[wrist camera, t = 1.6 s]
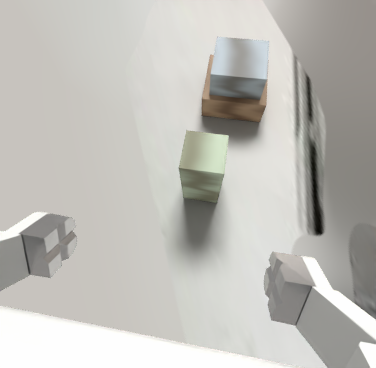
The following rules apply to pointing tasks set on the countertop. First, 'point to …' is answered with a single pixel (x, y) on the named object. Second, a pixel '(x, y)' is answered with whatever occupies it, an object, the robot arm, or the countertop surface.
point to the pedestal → (236, 80)
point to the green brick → (203, 165)
